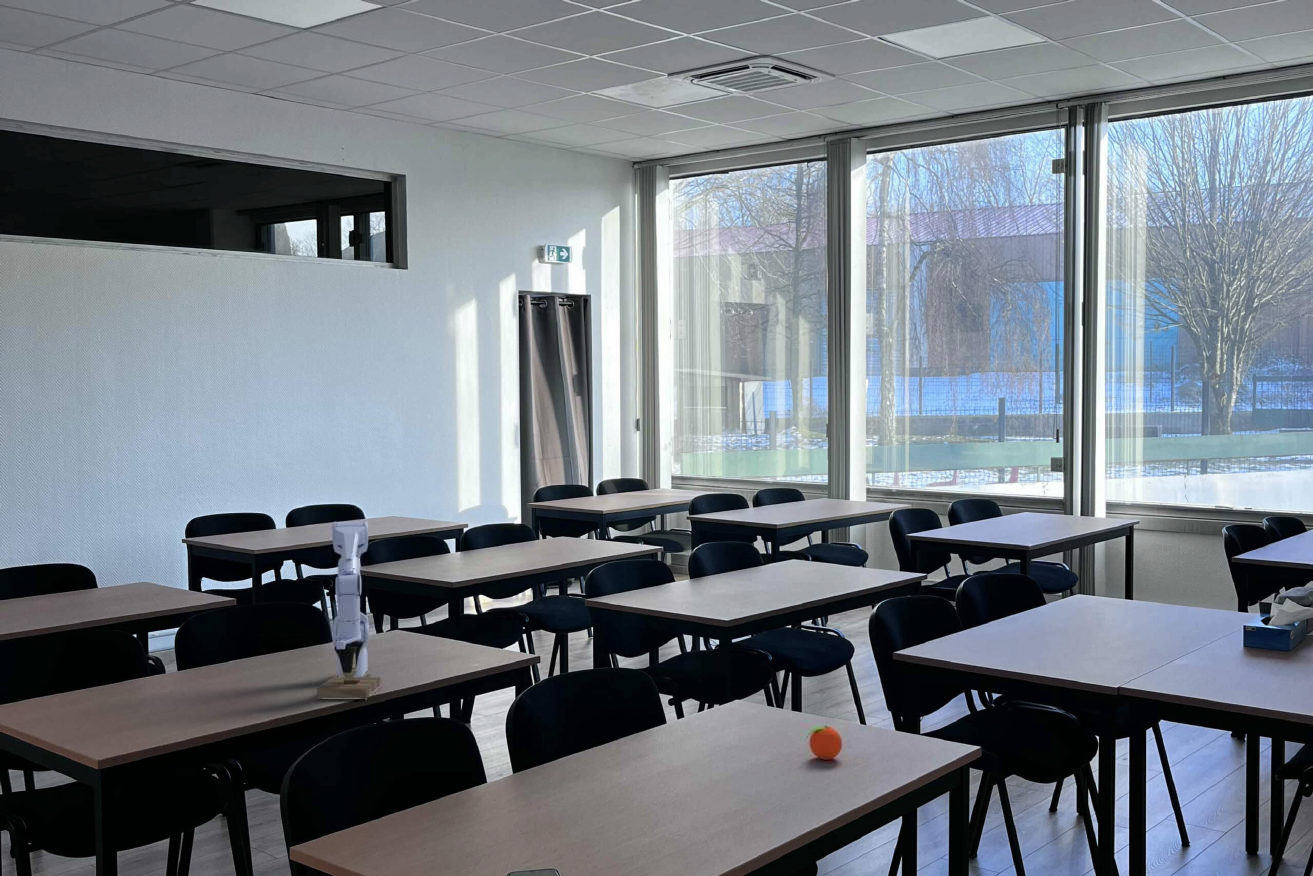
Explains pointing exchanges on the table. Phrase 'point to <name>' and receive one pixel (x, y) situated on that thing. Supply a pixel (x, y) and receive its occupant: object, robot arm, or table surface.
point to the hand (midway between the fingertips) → (349, 671)
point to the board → (348, 687)
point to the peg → (351, 675)
